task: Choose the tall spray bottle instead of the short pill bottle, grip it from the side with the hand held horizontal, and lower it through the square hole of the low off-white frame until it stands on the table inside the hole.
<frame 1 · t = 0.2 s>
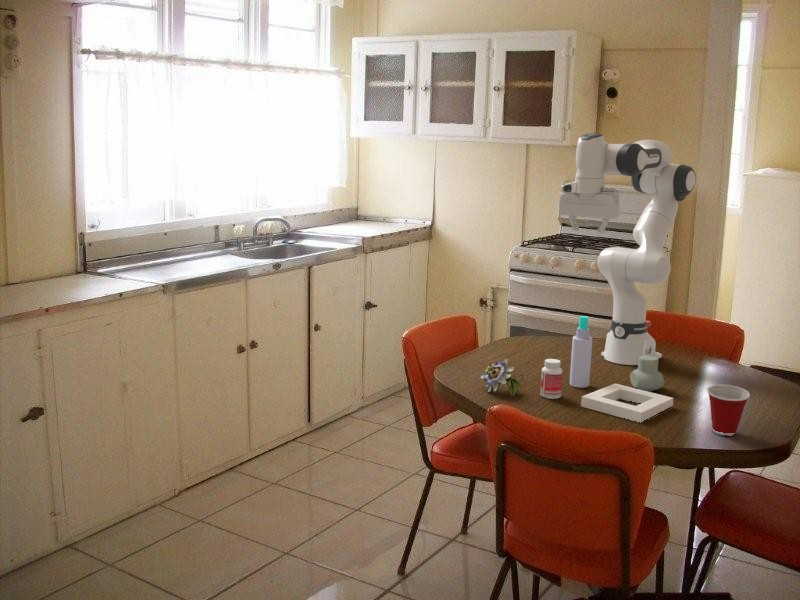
hand: (588, 231, 272), 47 cm above the table, tool pointing down, fingers open, 8 cm apart
passion flower: (501, 391, 266), on the table
air freshener: (645, 389, 272), on the table
plastic cup: (723, 433, 234), on the table
pill bottle: (550, 396, 262), on the table
spray bottle: (579, 385, 273), on the table
hole block: (626, 407, 254), on the table
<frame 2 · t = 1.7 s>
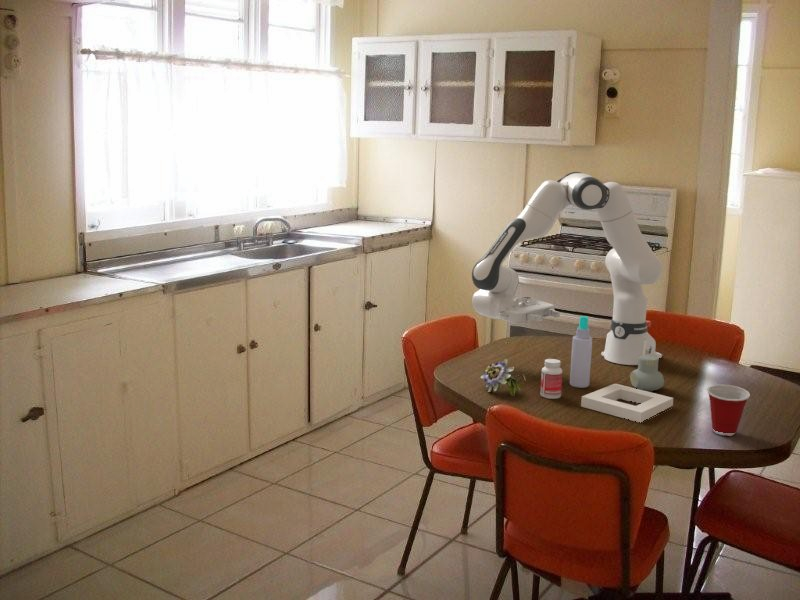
hand: (550, 316, 277), 20 cm above the table, tool horizontal, fingers open, 8 cm apart
nothing on the table moved.
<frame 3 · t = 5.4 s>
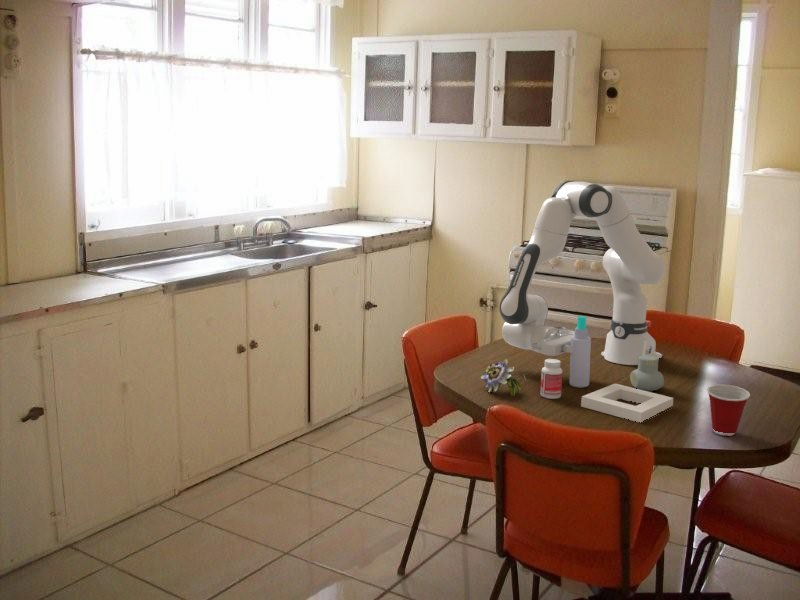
hand: (584, 348, 270), 12 cm above the table, tool horizontal, fingers closed on spray bottle, 4 cm apart
spray bottle: (579, 385, 273), on the table, touching gripper
everything else where it was.
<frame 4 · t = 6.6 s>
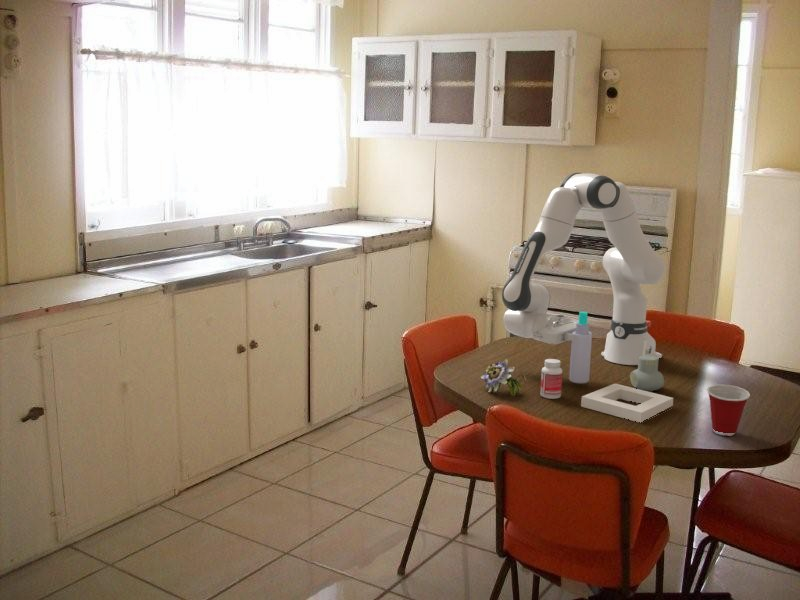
hand: (585, 336, 270), 16 cm above the table, tool horizontal, fingers closed on spray bottle, 4 cm apart
spray bottle: (578, 381, 273), point 1 cm above the table, touching gripper
everything else where it was.
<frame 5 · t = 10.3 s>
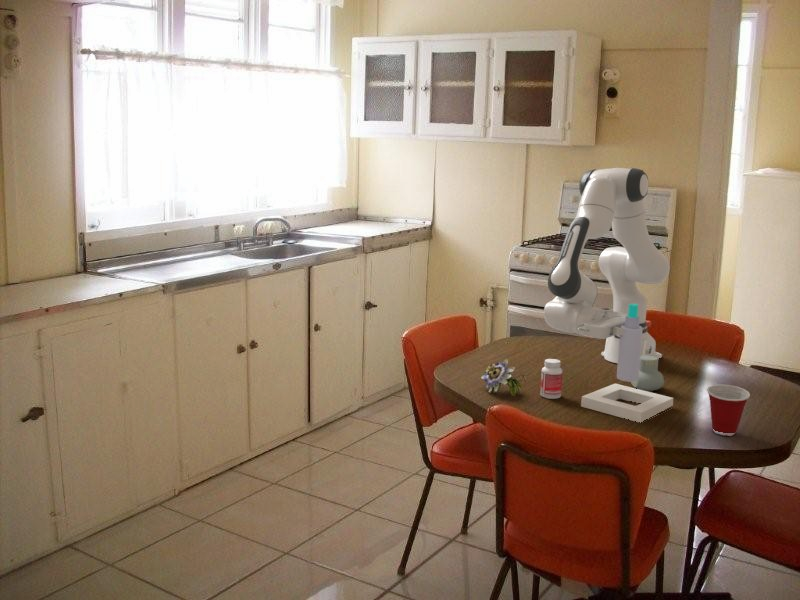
hand: (635, 331, 248), 23 cm above the table, tool horizontal, fingers closed on spray bottle, 4 cm apart
spray bottle: (627, 379, 251), point 8 cm above the table, touching gripper
everything else where it was.
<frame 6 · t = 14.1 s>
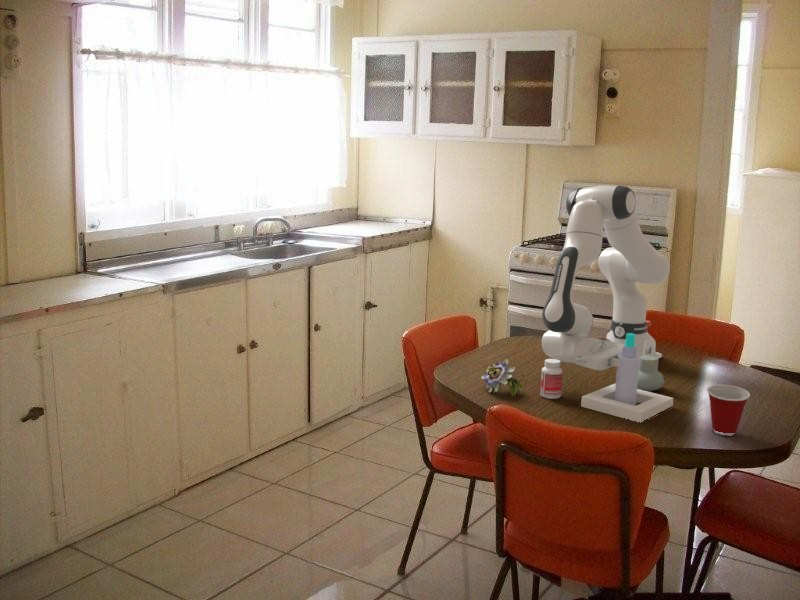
hand: (633, 362, 250), 14 cm above the table, tool horizontal, fingers closed on spray bottle, 4 cm apart
spray bottle: (624, 408, 253), on the table, touching gripper
everything else where it was.
when the fingers open (13 cm above the table, at t = 14.8 s): spray bottle stays where it is, on the table.
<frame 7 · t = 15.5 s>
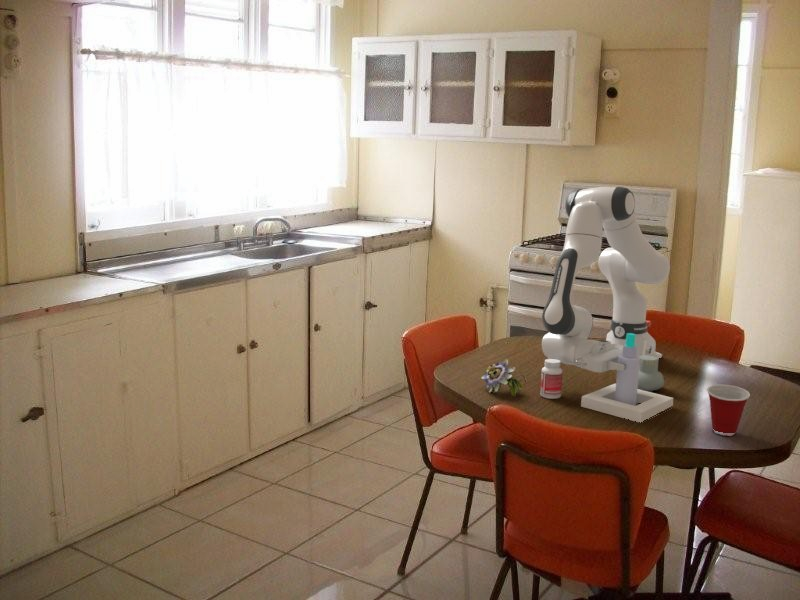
hand: (633, 364, 250), 13 cm above the table, tool horizontal, fingers open, 8 cm apart
spray bottle: (624, 408, 253), on the table
everything else where it was.
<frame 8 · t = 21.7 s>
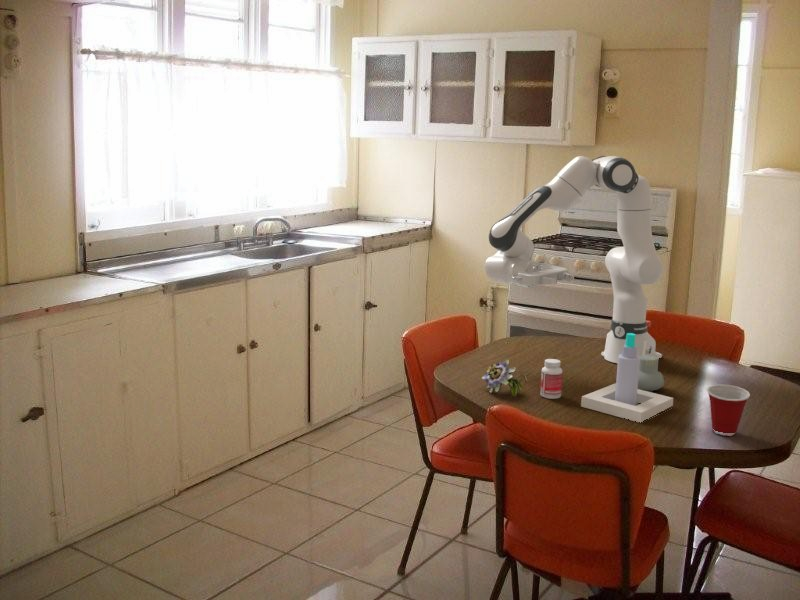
hand: (564, 280, 274), 32 cm above the table, tool horizontal, fingers open, 8 cm apart
nothing on the table moved.
at the end: spray bottle 0.9 cm off-centre on the hole block, point 0.0 cm above the hole block's base; spray bottle tilted 0°; pill bottle moved 0.2 cm from its start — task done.
